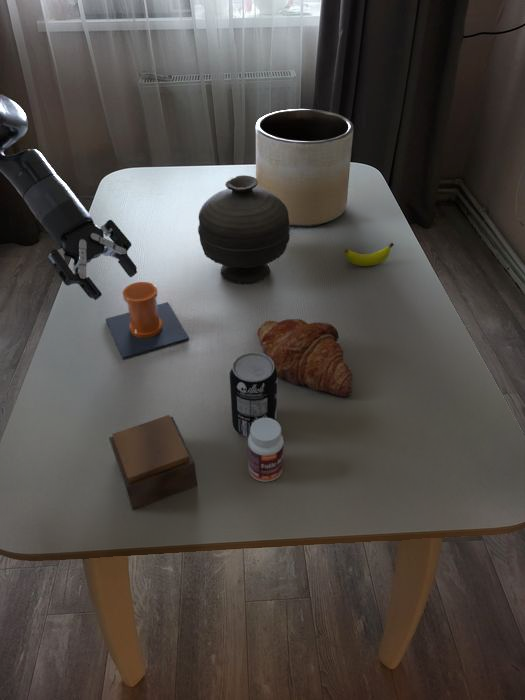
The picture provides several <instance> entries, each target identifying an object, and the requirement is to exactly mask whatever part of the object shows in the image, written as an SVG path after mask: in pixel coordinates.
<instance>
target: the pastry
mask: <svg viewBox="0 0 525 700" xmlns="http://www.w3.org/2000/svg"><path fill="white" fill-rule="evenodd" d="M256 334H257V337H258V341H259V345H260V347H261V349H262V351H263V354H265V355H267V356H268V357H270V358H271V359H272V361H273V363H274V367H275V368H276V370H277V379H279V380H283V381H285V382H287V383H290V384H292V385H295V386H299V387H300V386H304V387H308V388H310V389H312V391H321V392H325V393H327V394H331V395H334V396H335V397H340V398H347V397H350V395H351V394H352V382H353V372H352V370H351V369H350V367H349V366H348V365H347V364H346V362H345V361H344V350H343V347H342V346H341V343H339V342H338V340H339V338H340V335H339V331H338V329H337V328H336V327H335V326H334V325H332V324H331V323H328V322H310V323H308V322H307V321H305V320H303V319H300V318H288V319H284V320H283V319H282V320H280V321H277V320H266V321H264V322H263V323H262V324H261V325H260V326H259V327H258V328H257V331H256Z"/></svg>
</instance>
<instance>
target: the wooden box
mask: <svg viewBox="0 0 525 700" xmlns="http://www.w3.org/2000/svg"><path fill="white" fill-rule="evenodd" d="M111 434H112V436H109V437H108V440H109V443H110V447H111V451H112V454H113V458H114V461H115V464H116V467H117V470H118V473H119V475H120V479H121V481H122V484H123V487H124V489H125V493H126V496H127V499H128V502H129V504H130V507H131V511H135V510H137V509H140V508H142V507H145V506H148V505H151V504H153V503H155V502H159V501H161V500H164V499H166V498H169V497H171V496H174V495H176V494H179V493H181V492H184V491H187V490H189V489H192V488H195V487H197V486H198V480H197V479H198V478H197V472H196V471H197V470H196V465H195V464H196V463H195V460H194V458H193V456H192V454H191V452H190V450H189V448H188V445H187V444H186V442H185V439H184V438H183V436H182V434H181V431H180V430H179V427H178V425H177V423H176V421H175V419H174V416H172V415H171V416H170V414H167V415H164V416H162V417H158V418H156V419H152V420H150V421H147V422H143V423H140V424H137V425H133V426H132V427H128V428H126V429H123V430H120V431H119V430H118V431H117V432H114V433H111Z"/></svg>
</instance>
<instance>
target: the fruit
mask: <svg viewBox="0 0 525 700" xmlns="http://www.w3.org/2000/svg"><path fill="white" fill-rule="evenodd" d="M394 245H395V244H394V243H393V242H390V244H388V246H386V247H384V248H382V249H380V250H378V251H375V252H372V253H366V254H364V253H363V254H362V253H358V252H356V251H352V250H350V249H345V250H344V254H345V257H346V259H347V261H348V262H349V263H351V264H352V265H355V266H360V267H371V266H372V267H373V266H376V265H379V264H381V263H383V262H384V261H386V260H387V258H388V257H389V255H390V252H391V248H392V247H393V246H394Z"/></svg>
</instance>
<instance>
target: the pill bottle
mask: <svg viewBox="0 0 525 700" xmlns="http://www.w3.org/2000/svg"><path fill="white" fill-rule="evenodd" d="M284 444H285V443H284V437H283V434H282V427H281V425H280V423H279V422H278V421H277V419H276V420H274V419H271V418H260V419H257V420H256V421H254V422H253V423H252V425H251V428H250V435H249V437H248V438H247V462H248V463H247V465H248V468H247V469H248V472H249V474H250V476H251V477H252V478H253V479H254V480H256V481H259V482H262V483H269V482H272V481H274V480H277V479H278V478H279V477H280V476H281V475H282V472H283V465H284V463H283V461H284Z"/></svg>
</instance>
